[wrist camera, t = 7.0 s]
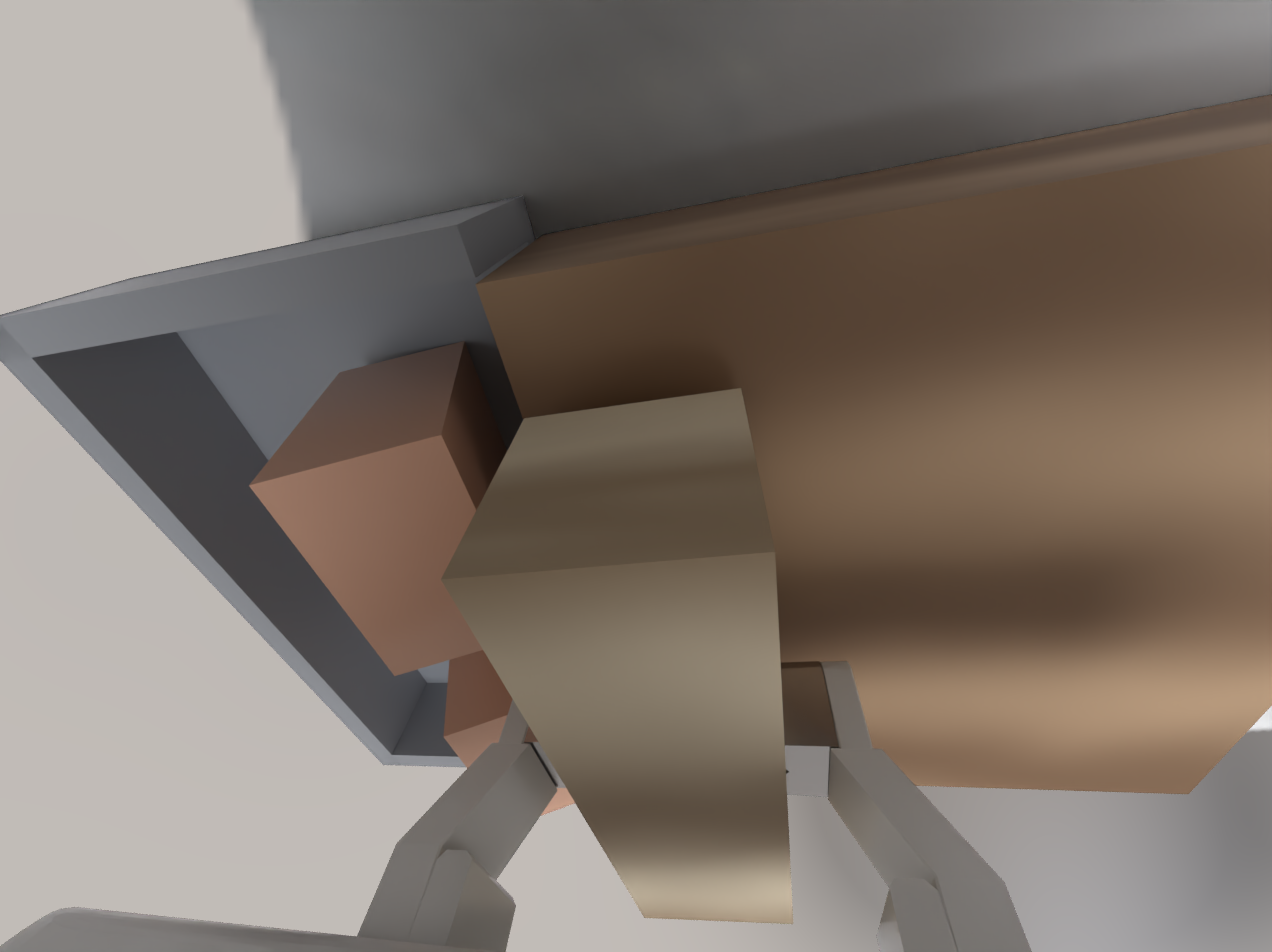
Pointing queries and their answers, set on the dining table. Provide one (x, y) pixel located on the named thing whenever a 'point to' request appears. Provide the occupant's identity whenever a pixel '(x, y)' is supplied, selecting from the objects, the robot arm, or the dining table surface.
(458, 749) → the tile
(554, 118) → the dining table surface
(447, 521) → the tile
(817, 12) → the dining table surface
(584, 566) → the beige wooden block
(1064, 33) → the dining table surface
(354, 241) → the tray
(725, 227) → the board
